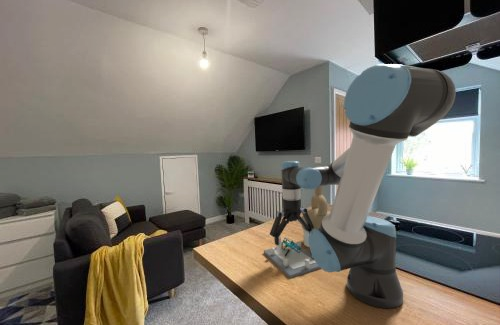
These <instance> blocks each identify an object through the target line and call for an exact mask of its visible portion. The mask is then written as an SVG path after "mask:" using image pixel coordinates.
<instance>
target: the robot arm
mask: <svg viewBox="0 0 500 325" xmlns="http://www.w3.org/2000/svg"><path fill="white" fill-rule="evenodd" d="M456 91H457V90H456V85H455V83H454V81H453V79H452V78H451V76H449V75H448V74H447V73H445V72H443V71H441V70H438V69H433V68H423V67H417V66H410V65H403V64H396V63H393V64H392V63H390V64H389V63H388V64H384V63H383V64H382V63H381V64H375V65H373V66H370V67H367V68H366V69H364V70H362V72H361V73H360V74H357V76H356V77H355V78H354V79H353V80H352V81H351V82H350V85H349V86H348V89H347V91H346V93H345V96H344V100H343V109H344V110H345V111H344V114H345V117H346V118H347V119H348V120H349V125H348V128H349V130H350V132H351V133H352V135H353V137H352V139H351V143H350V146H349V148H348V149H346V150H345V151H344V152H343V153H342V154H341V155H340V156H338V157H337V158H335V160H333V161H332V162H331V163H330V164H329V165H319V166H301V165H300V164H301V163H300V162H299V161H297V160H293V161H292V160H288V161H283V162H282V163H281V169H280V172H281V189H282V190H281V191H282V192H281V194H282V211H278V210H277V211H276V213H275V217H274V221H273V224H272V227H271V229H270V232H269V235H270V236H272V237H273V238H274V245H275V246H276V247H275V248H276V250H277V252H278V253H279V254H282V252H281V241H282V237H281V234H282V233H283V231H284V230H285V228H286V226H287V224H289V223H290V222H291V223H292V222H297V221H298V222H299V224H300V225H301V226H303V227H304V228H305V229H306V230H303V229H302V230H303V231H302V233H303V234H302V235H303V245H304V246H306V247H307V248H308V247H309V250H310V253H311V254H312V256H313V258H314V260H315V261H316V263H317V264H318V266H319V267H320V268H321V270H322V271H324V272H326V273H336V272H337V273H339V272H341V271H345V270H349V271H348V274H347V277H346V286H347V289H348V291H349V292H350V294H352V296H353V297H355V298H356V299H357V300H359V301H361V302H363V303H365V304H367V305H370V306H373V307H376V308H382V309H394V308H398V307H400V306H402V304H403V302H404V290H403V288H402V286H401V282H400V280H399V277H398V274H397V250H396V249H397V234H396V230H397V229H396V226H395V225H394V224H393V223H392V222H390V221H388V220H387V219H383V218H380V217H375V216H371V215H369V214H370V210H372V206H373V203H374V201H375V198H376V196H377V194H378V191H379V188H380V185H381V184H382V181H383V177H384V176H385V173H386V171H387V168H388V166H389V164H390V160H391V158H392V156H393V153H394V150H395V147H396V146H397V145H398V144H400V143H401V142H404V141H407V140H408V138H409V137H412V138H414V137H415V138H416V137H417V136H419V135H421V134H422V133H423V132H425V131H427V130H428V129H429V128H431V127H432V126H434V125H435V124H436V123H438V122H439V121H440V120H442V119H443V118H444V117H445V116H446V115H447V114H448V112H449V111H450V110H451V109H452V107H453V104H454V102H455V100H456V95H457V94H456ZM318 186H323V187H325V186H337V189H336V193H335V196H334V199H333V203H332V206H331V209H330V211H329V212H330V214H328V215H326V216H324V217H323V219H322V222H321V226H320V228H319V229H314V230H312V229H313V228H314V226H313V224H312V221H311V219H310V217H309V215H308V212H307V211H308V208H306V207H303V206H302V199H301V198H302V194H301V193H302V191H301V188H302V189H305V190H315V188H317V187H318ZM301 214H302V216H304V219H305V221H306V223H307V224H306V223H305V222H304V220H303V219H302V216H301Z"/></svg>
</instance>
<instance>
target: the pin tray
mask: <svg viewBox="0 0 500 325" xmlns="http://www.w3.org/2000/svg"><path fill="white" fill-rule="evenodd" d="M294 244H295V245H297V246H299V247H300V248H301V249H300V248H298V247H297V248H298V252H299V251H300V253H298V252H296V251H295V250H297V248H294V249H295V250H294V249H292V250H291V251H289V253H288V254H287V256H286V257H285V256H284V255H285V254H286V252H287V251H288V248H289V247H287V248H286V249H285V250H283V249H284V247H285V245H284V243H283V240H281V252H282V254H279V253H278V252H277V250H276V247H273V246H272V247H270V248H269V249H264V250H263V254H264V255H265V256H266V257H267V258H269V259H270V261H271V262H272V263H273V264H274V265H275V266H276V267H278V269H280V270H281V272H283V273H284V274H285V275H286V276H287V277H288V278H289V279H293V278H296V277H299V276H301V275H305V274H307V273H308V274H309V273H311V272H314V271H318V270H320V269H321V268H320V267H319V266H318V264H317V263H316V261H315V260H314V258H313V256H312V254H311V251H308V250H307V249H306V248H304V247H303V246H302V241H301V240H298V241H297V242H294ZM290 245H291V244H290ZM293 247H295V246H294V245H293ZM299 249H300V250H299ZM321 270H322V269H321Z"/></svg>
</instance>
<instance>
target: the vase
mask: <svg viewBox="0 0 500 325" xmlns="http://www.w3.org/2000/svg"><path fill="white" fill-rule="evenodd" d="M323 187H324V186H318V187H317V188H315V189H314V194H313V195H312V196H311V199H310V203H311V204H310V206H311V209H309V210H307V212H308V215H309V217H310V219H311V221H312V224H313V226H314V228H313V229H312V230H314V229H319V228H320V226H321V222H322V219H323V217H324V216H326V215H328V214H330V212H331V211H329V210H328V207H329V206H328V201H327V199H326V197H325V196H324V195H323ZM301 217H302V219H303V220H304V222H305V223H306V221H305V219H304V216H303V215H302V216H301ZM306 224H307V223H306ZM301 226H302V225H301ZM302 230H306V229H305V228H304V227H303V226H302Z"/></svg>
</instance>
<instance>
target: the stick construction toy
mask: <svg viewBox="0 0 500 325" xmlns="http://www.w3.org/2000/svg"><path fill="white" fill-rule="evenodd" d="M282 241H283V245H284V246H285V247H284V249H283V250H285V249H286V248H287V247H289V248H288V251H287V252H286V254H285V255H284V256H285V257H286V256H287V254H288V253H289V251H291V250H292V249H294V248H297V247H298V248H300V247H299V246H297V245H295V244H294V243H295V242H294V240H292V239H291V240H290V239H288V238H287V237H284V238H283V239H282ZM290 244H291V245H290ZM293 245H294V246H295V247H293ZM298 248H297V250H295V249H294V250H295V251H296V252H298ZM300 249H301V248H300ZM300 249H299V250H300ZM298 253H300V251H299V252H298Z"/></svg>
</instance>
